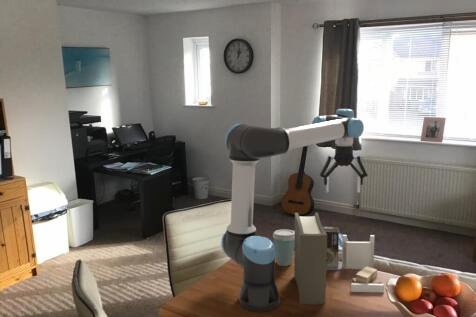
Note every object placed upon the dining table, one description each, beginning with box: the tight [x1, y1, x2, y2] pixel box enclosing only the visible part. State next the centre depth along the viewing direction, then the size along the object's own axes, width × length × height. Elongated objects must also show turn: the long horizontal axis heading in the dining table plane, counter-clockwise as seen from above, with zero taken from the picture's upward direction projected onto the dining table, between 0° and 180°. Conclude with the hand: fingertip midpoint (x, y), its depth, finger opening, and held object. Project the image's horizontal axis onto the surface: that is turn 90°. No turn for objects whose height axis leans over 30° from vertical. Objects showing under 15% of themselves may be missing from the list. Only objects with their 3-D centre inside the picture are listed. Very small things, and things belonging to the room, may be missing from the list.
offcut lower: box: [351, 276, 383, 284], centre depth 162 cm, size 10×5×3 cm, turn 98°
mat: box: [326, 262, 342, 271], centre depth 181 cm, size 10×10×1 cm
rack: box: [341, 234, 385, 293], centre depth 166 cm, size 13×20×15 cm, turn 175°
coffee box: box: [322, 225, 340, 267], centre depth 179 cm, size 9×6×16 cm
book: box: [293, 212, 327, 305], centre depth 158 cm, size 22×9×28 cm, turn 178°
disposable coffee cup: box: [272, 228, 295, 267], centre depth 182 cm, size 11×11×15 cm
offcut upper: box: [355, 266, 378, 283], centre depth 163 cm, size 9×5×3 cm, turn 138°
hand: (342, 191), depth 183 cm, fingers open, 13 cm apart
